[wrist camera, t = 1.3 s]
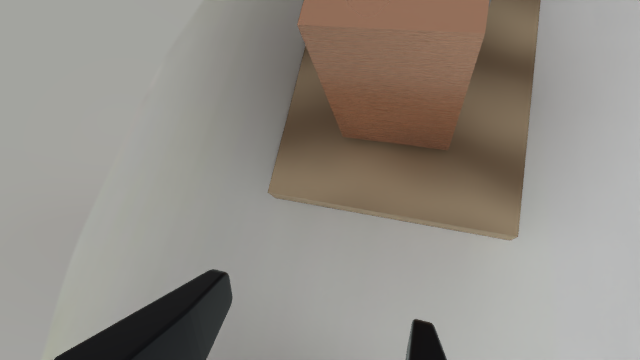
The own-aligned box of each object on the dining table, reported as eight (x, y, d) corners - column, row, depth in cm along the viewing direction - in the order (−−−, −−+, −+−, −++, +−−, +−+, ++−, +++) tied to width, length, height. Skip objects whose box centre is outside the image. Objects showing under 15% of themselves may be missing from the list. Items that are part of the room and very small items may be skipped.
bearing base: (510, 240, 20) (608, 195, 11) (275, 197, 24) (186, 135, 14) (540, -65, 25) (628, -292, 15) (341, -61, 29) (308, -242, 19)
